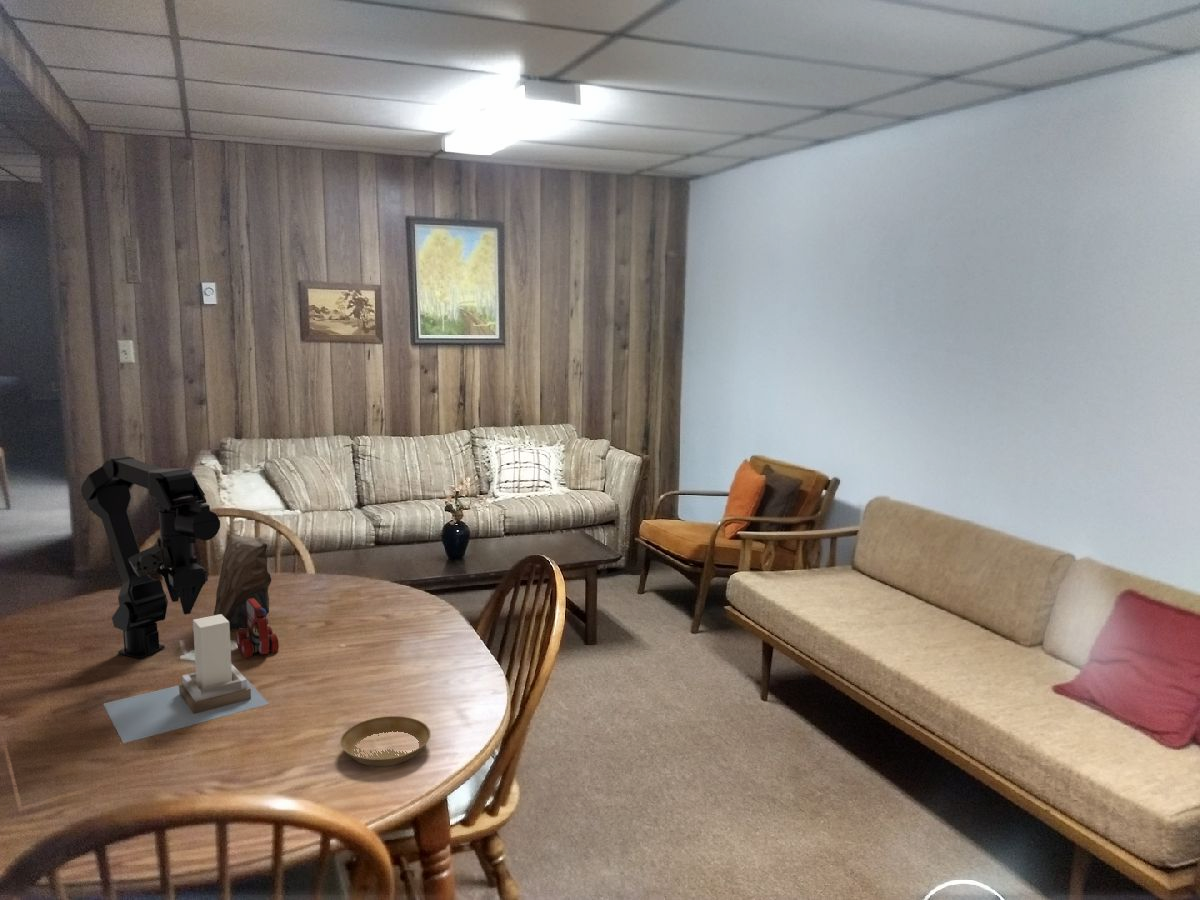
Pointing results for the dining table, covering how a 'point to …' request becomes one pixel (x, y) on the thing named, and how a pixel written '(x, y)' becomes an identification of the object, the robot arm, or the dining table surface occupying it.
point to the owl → (242, 579)
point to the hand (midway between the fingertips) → (180, 607)
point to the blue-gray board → (166, 712)
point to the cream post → (212, 651)
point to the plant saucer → (384, 725)
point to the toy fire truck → (256, 632)
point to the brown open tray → (214, 692)
